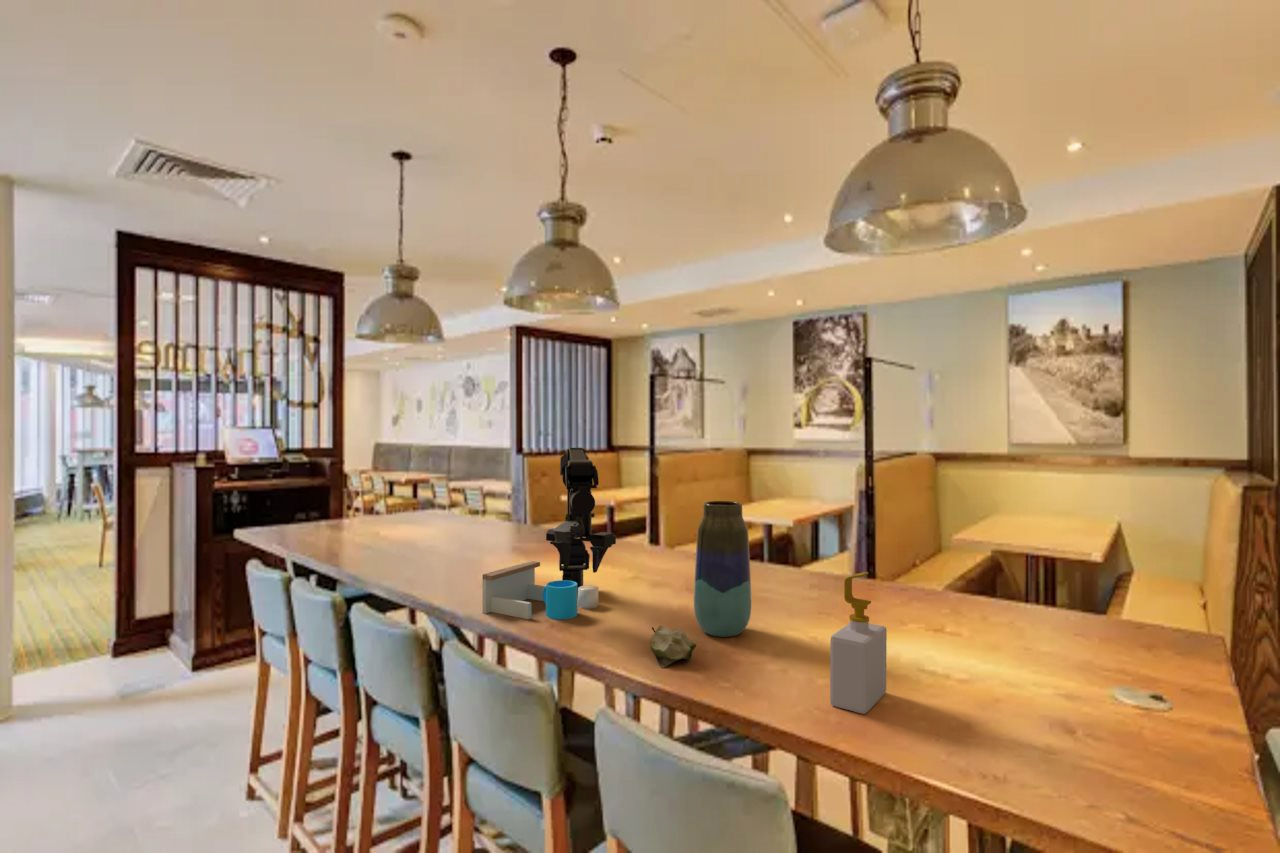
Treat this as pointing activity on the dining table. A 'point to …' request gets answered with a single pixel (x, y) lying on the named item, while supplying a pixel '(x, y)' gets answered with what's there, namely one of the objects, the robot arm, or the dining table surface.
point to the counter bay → (511, 590)
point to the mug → (560, 599)
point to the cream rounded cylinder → (588, 597)
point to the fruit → (671, 645)
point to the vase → (722, 570)
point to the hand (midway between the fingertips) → (580, 570)
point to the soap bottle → (857, 658)
